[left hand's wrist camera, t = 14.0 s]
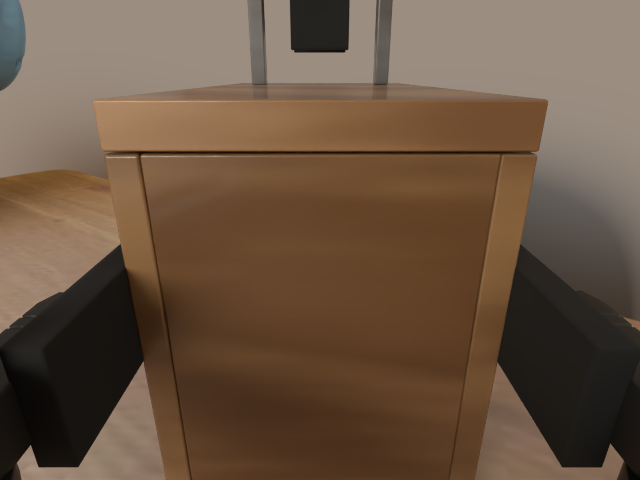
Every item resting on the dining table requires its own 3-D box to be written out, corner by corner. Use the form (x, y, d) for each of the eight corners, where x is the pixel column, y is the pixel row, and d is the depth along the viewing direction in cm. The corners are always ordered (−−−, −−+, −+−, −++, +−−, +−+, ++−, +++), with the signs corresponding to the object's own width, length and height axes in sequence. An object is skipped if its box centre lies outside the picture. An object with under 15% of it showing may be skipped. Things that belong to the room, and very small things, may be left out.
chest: (252, 272, 28) (241, 103, 24) (387, 272, 28) (399, 103, 24) (170, 510, 13) (101, 154, 9) (469, 510, 13) (539, 154, 9)
